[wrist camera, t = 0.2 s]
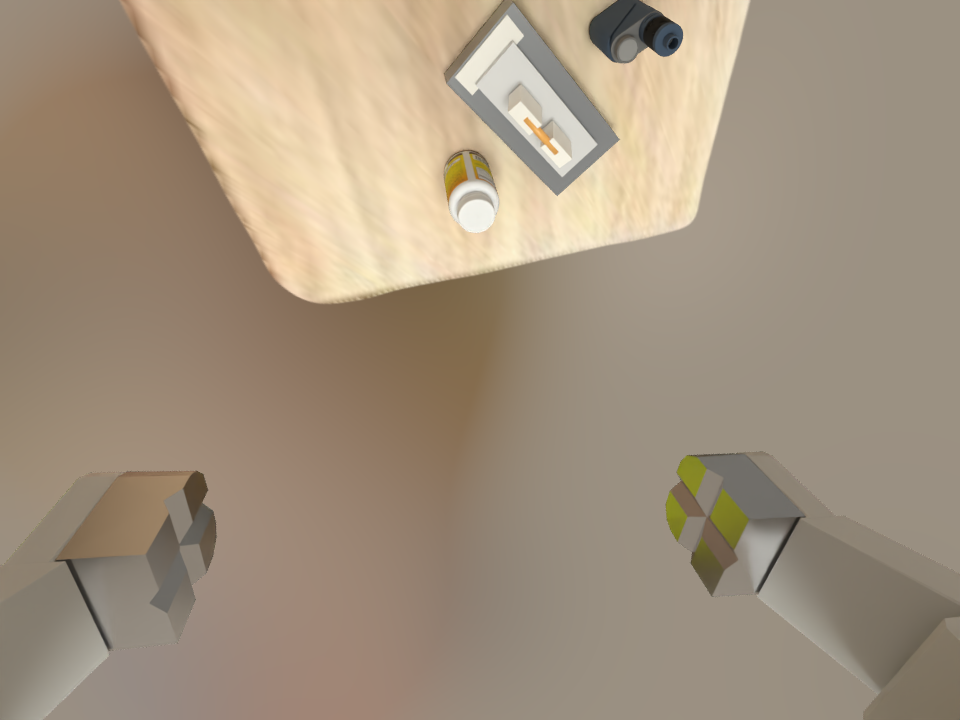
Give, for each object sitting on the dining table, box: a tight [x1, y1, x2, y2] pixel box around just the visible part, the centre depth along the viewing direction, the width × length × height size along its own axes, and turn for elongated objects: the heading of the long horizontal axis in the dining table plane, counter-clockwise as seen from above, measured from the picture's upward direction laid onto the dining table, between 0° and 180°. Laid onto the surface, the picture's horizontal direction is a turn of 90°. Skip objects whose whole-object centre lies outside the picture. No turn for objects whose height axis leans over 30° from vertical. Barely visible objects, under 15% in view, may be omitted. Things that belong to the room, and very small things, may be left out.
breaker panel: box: [444, 0, 620, 196], centre depth 51 cm, size 9×18×4 cm, turn 45°
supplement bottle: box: [444, 151, 499, 233], centre depth 54 cm, size 6×6×10 cm
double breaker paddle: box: [508, 84, 572, 168], centre depth 48 cm, size 2×8×3 cm, turn 45°
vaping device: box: [589, 0, 683, 63], centre depth 43 cm, size 3×5×12 cm, turn 122°
